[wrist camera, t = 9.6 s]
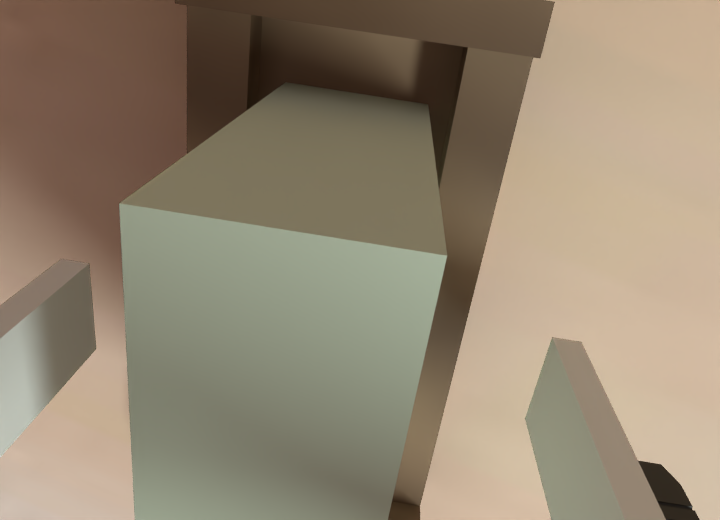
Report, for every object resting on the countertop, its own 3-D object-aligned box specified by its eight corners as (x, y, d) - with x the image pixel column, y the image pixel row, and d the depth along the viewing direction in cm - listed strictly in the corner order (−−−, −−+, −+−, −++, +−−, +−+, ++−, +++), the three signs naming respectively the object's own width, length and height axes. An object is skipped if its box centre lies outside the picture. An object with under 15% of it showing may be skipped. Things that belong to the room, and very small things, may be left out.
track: (208, -48, 16) (166, -56, 13) (537, 0, 15) (564, 3, 13) (200, 447, 23) (173, 507, 21) (418, 483, 23) (419, 548, 21)
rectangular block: (285, 82, 16) (119, 202, 7) (428, 104, 16) (447, 255, 7) (259, 416, 21) (145, 733, 12) (367, 434, 21) (332, 766, 12)
